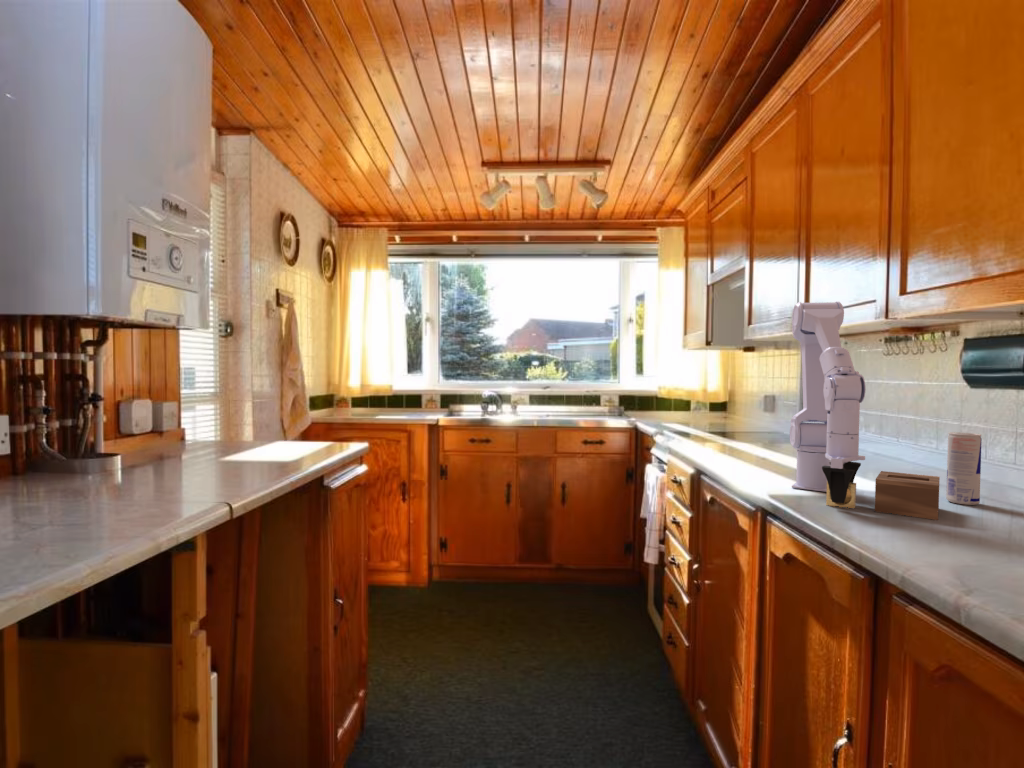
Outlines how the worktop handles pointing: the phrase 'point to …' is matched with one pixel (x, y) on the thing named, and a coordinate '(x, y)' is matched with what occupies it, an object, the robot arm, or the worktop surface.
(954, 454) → the white cylindrical canister
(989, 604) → the worktop surface
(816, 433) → the robot arm
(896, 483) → the money box
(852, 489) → the tan square block
